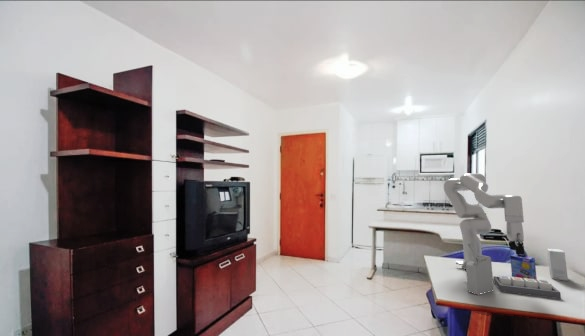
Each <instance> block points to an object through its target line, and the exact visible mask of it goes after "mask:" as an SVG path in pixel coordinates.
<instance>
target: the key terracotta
mask: <svg viewBox="0 0 585 336" xmlns="http://www.w3.org/2000/svg"><path fill="white" fill-rule="evenodd" d="M510 278H511V282H512V283H513V284H514V285H515V286H521V287H525V286H524V280H523V279H522V278H519V277H513V276H510Z"/></svg>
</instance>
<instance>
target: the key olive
mask: <svg viewBox="0 0 585 336" xmlns="http://www.w3.org/2000/svg"><path fill="white" fill-rule="evenodd" d="M523 279H524V284H525V285H526V286H527V287H529V288H538V282H537V280H534V279H528V278H523Z"/></svg>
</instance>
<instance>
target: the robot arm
mask: <svg viewBox="0 0 585 336" xmlns="http://www.w3.org/2000/svg"><path fill="white" fill-rule="evenodd" d="M486 182H487V178H486V177H485V175H484V174H482V173H465V174H462V175H461V176H460V178H450V179H447V180H445V182H444V183H443V190H444V193H445V196H446V197H447V199H448V200H449V201H450V203H451V206H452V207H453V209H454V211H455V214H456V216H457V217H458V218H460V219H463V220H461V221H460V223H459V229H460V233H461V236H462V247H463V248H462V249H463V260H461V261H459V260H455V264H456V265H459V266H461V269H463V268H464V269H466V265H467V263H468V262H469V261H471V260H472V257H473V253H472V251H471V249H470V248H469V246H468V244H470V245H471V247H472V248H473V249H474V252H475V256H477V255H483V254H482V244H481V240H480V239H481V238H479V236H478V235H481V234H483V235H485V234H486V235H487V234H489V233H491V231H492V223H491V222H490V220H489V218H488V216H487V215H486V213H485V210H484V209H483V208H482V206H483V207H485V208H486V209H487V208H488V209H504V222H506V238H507V239H508V241H509V250H512V251H515V254H517V255H518V254H519V255H524V253H525V245H524V241H525V238H524V237H525V236H524V230H523V229H524V227H523V223H524V222H525V221H524V209H523V199H522V196H520V195H516V194H515V195H514V194H512V195H511V194H510V195H509V194H488V193H487V192H488V190H489V185H488V183H486ZM458 191H459V192H458ZM462 191H463V192H465V191H466V192H467V191H471V192H472V193H473V194H474V198H475V201H477V203H478V204H477V203H468V202H467V201H466V199H465V196H464V195H463V194H461V193H460V192H462ZM480 204H481V205H480ZM464 269H463V270H464Z"/></svg>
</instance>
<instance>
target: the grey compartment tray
mask: <svg viewBox="0 0 585 336" xmlns="http://www.w3.org/2000/svg"><path fill="white" fill-rule="evenodd" d="M492 277H493V283H494V282H495V283H494V284H495V285H497V286H498V287H497V286H496V287H497V288H498V290H499V289H500V290H499V292H503V291H505V292H504V293H512V294H521V295H528V296H536V297H542V298H544V297H545V298H551V299H552V298H553V299H559V300H561V299H562V296H561V292H560V291H559V290H558V289H557V288H556V287H554V286H553V285H552V290H546V289H541V288H540V287H539V286H538V288H529V287H527V286H526V285H525V284H524V286H525V287H521V286H515V285H514V284H513V283H512V282H511V285H504V284H501V283H500V282H499V276H495V275H494V276H493V275H492ZM509 278H510V279H511V277H509ZM523 280H524V279H523Z"/></svg>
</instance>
